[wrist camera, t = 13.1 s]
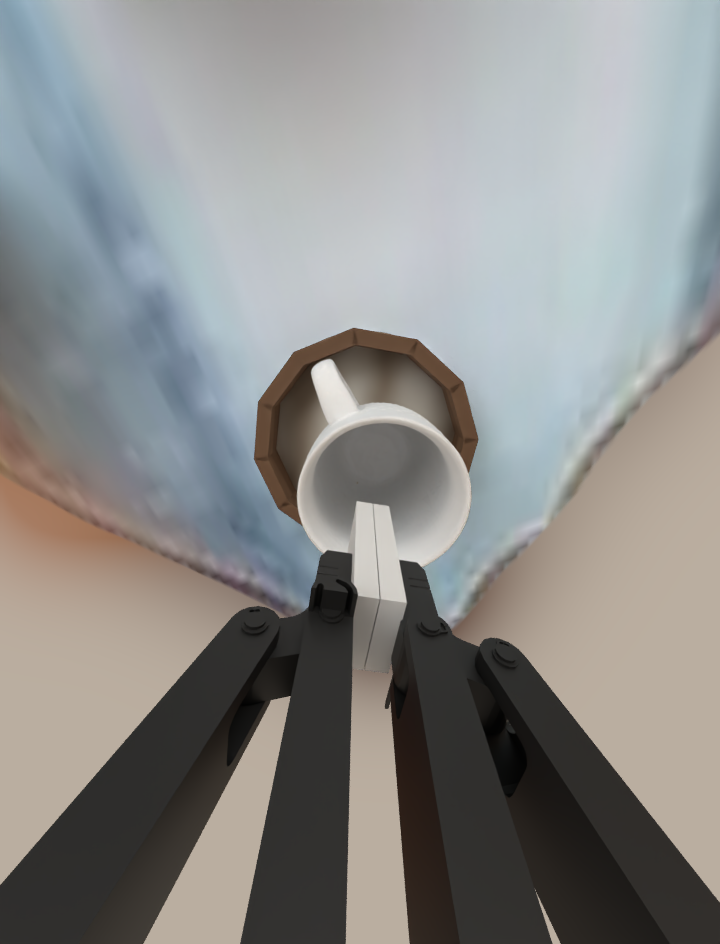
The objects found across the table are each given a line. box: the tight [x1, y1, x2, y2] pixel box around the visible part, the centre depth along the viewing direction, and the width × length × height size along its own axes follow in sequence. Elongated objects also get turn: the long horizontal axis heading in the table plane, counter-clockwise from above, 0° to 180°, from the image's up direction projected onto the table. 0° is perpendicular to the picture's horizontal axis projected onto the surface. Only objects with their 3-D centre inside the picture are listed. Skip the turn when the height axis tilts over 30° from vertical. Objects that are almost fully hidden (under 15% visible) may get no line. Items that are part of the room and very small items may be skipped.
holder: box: [254, 328, 478, 526], centre depth 32 cm, size 20×20×4 cm
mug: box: [297, 359, 471, 567], centre depth 26 cm, size 15×11×13 cm
